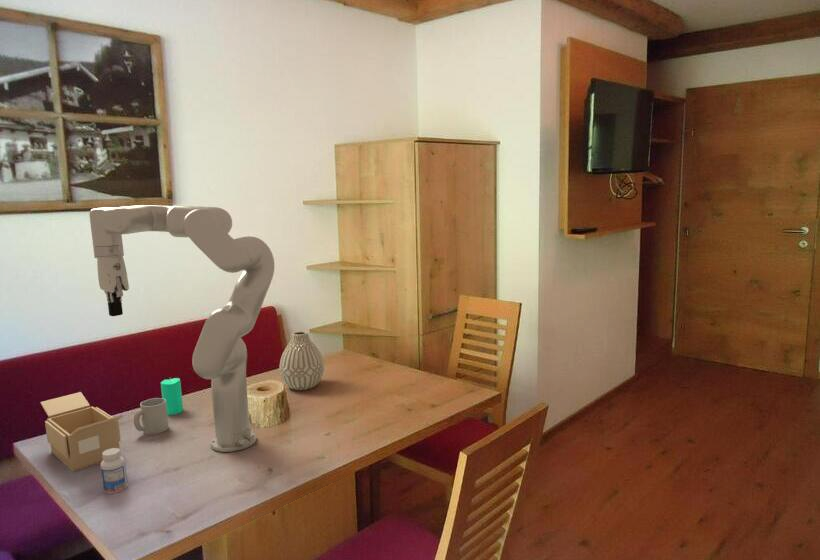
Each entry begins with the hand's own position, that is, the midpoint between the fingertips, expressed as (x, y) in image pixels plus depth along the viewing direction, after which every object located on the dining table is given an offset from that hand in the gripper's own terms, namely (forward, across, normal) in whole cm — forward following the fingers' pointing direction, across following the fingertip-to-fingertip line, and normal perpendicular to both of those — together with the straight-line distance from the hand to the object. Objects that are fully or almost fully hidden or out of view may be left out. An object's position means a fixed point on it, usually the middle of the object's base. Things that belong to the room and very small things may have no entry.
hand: (116, 315), depth 174 cm
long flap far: (+27, +7, +13) cm, 31 cm away
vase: (+37, -4, -60) cm, 71 cm away
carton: (+37, -2, +13) cm, 39 cm away
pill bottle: (+37, -29, +15) cm, 50 cm away
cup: (+37, -1, -6) cm, 38 cm away
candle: (+37, +10, -18) cm, 43 cm away
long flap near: (+27, -11, +13) cm, 32 cm away
